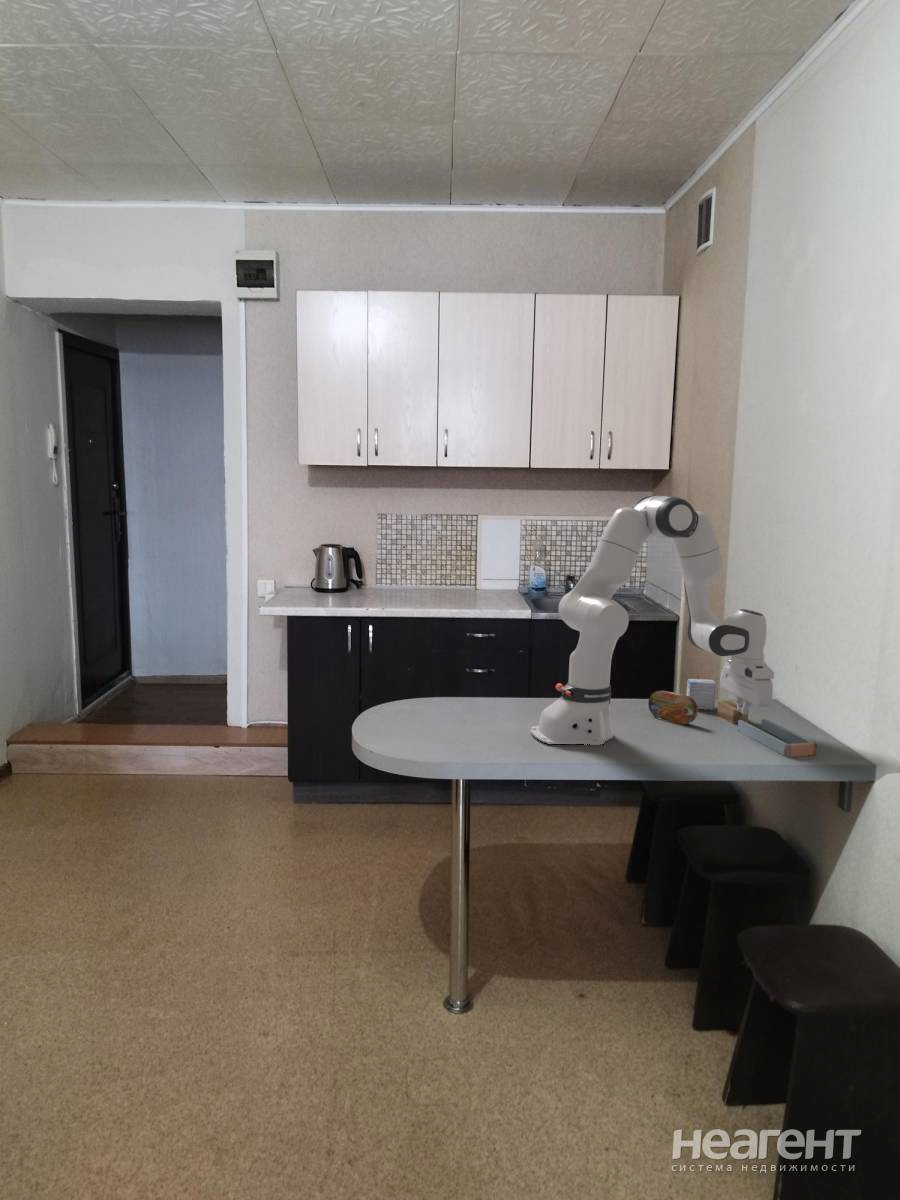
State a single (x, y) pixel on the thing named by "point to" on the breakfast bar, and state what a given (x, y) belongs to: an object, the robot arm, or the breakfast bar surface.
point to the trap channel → (794, 749)
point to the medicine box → (702, 692)
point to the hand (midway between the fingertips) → (742, 713)
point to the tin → (673, 707)
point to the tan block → (731, 712)
